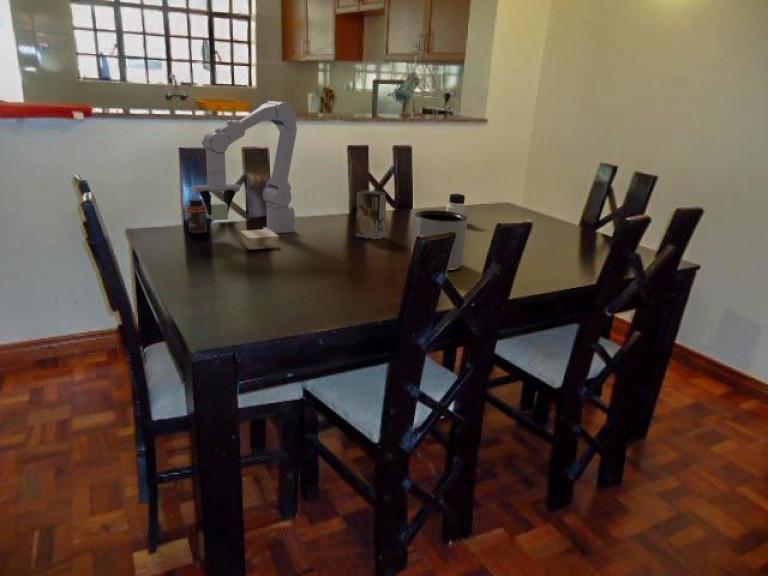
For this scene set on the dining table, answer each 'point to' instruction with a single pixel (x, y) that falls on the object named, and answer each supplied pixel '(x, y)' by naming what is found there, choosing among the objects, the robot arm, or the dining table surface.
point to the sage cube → (219, 210)
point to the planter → (442, 230)
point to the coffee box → (370, 214)
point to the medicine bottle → (456, 204)
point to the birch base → (259, 239)
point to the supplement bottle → (197, 216)
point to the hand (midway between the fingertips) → (218, 213)
